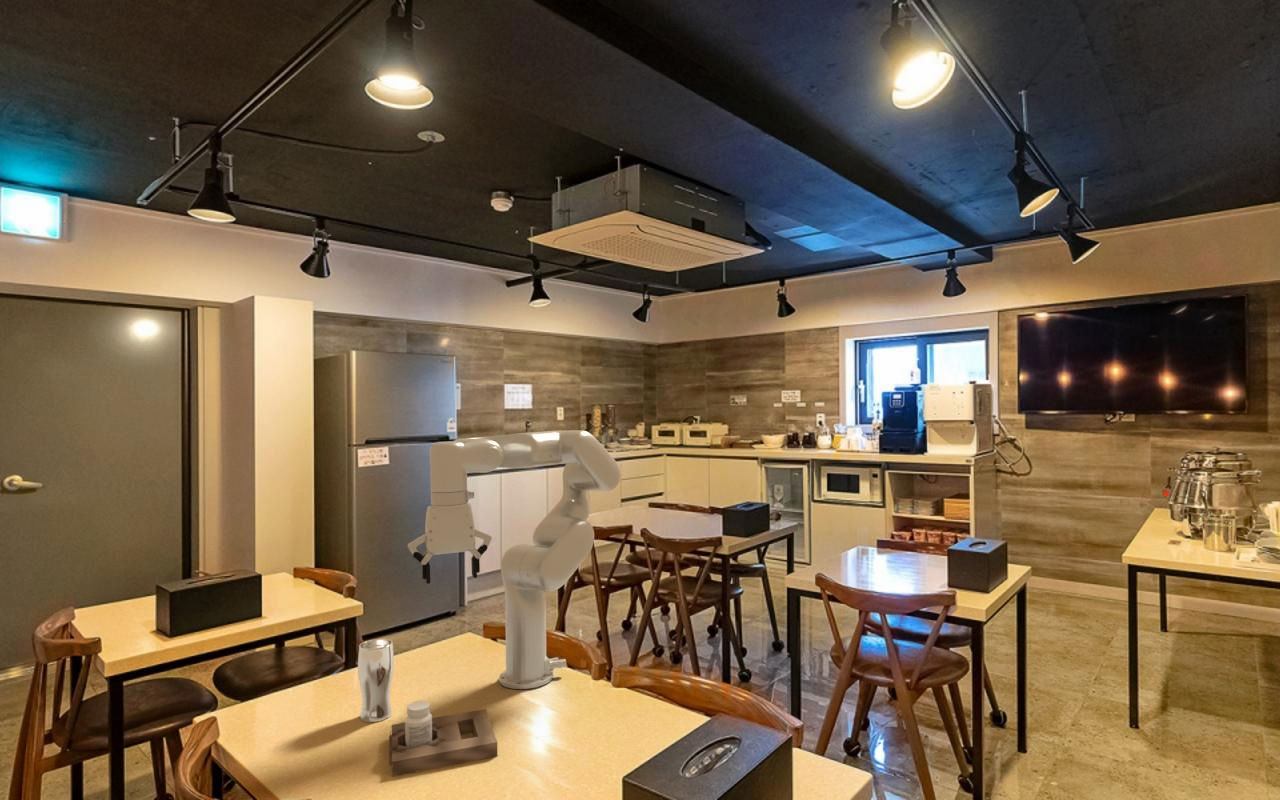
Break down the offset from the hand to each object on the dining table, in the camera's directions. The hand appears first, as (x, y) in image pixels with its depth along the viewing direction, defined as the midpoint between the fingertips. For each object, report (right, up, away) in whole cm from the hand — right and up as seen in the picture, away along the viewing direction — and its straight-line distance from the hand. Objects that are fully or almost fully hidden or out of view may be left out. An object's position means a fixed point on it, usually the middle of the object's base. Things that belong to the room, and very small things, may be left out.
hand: (451, 579), depth 139 cm
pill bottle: (-1, -27, -18) cm, 33 cm away
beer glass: (-15, -28, -3) cm, 32 cm away
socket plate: (+3, -27, -16) cm, 32 cm away
